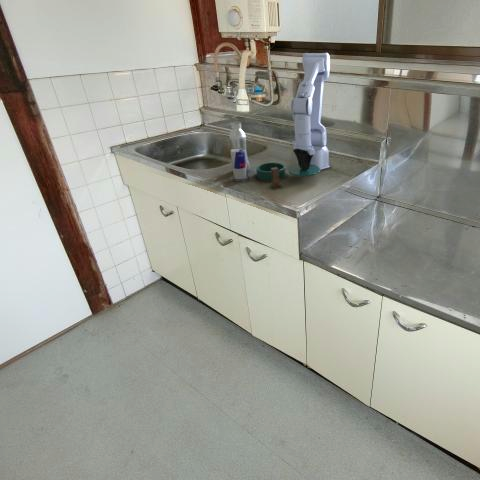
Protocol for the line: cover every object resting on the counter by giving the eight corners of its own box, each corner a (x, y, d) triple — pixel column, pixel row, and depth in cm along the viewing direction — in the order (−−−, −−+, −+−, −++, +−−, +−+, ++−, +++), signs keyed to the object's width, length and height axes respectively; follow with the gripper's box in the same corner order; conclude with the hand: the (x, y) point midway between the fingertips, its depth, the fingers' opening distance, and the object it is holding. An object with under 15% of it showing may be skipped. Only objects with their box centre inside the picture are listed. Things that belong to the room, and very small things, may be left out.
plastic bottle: (253, 171, 151) (248, 122, 141) (240, 175, 147) (233, 125, 137) (244, 168, 155) (238, 120, 145) (231, 172, 151) (224, 123, 141)
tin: (275, 169, 153) (274, 160, 150) (290, 176, 145) (290, 167, 143) (252, 176, 146) (251, 166, 144) (267, 183, 139) (266, 174, 137)
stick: (272, 187, 136) (270, 168, 132) (277, 186, 137) (276, 167, 133) (274, 189, 134) (272, 169, 130) (280, 187, 135) (278, 168, 131)
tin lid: (307, 164, 146) (306, 153, 144) (326, 172, 138) (326, 161, 136) (282, 171, 140) (281, 160, 137) (301, 180, 132) (300, 168, 129)
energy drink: (246, 182, 141) (242, 152, 135) (233, 182, 141) (228, 152, 135) (249, 177, 145) (245, 147, 139) (236, 177, 146) (231, 148, 139)
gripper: (284, 130, 135) (286, 165, 142) (301, 138, 124) (303, 176, 131) (301, 127, 138) (302, 161, 145) (319, 135, 127) (320, 172, 134)
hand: (304, 168), depth 138 cm, fingers closed on tin lid, 2 cm apart
